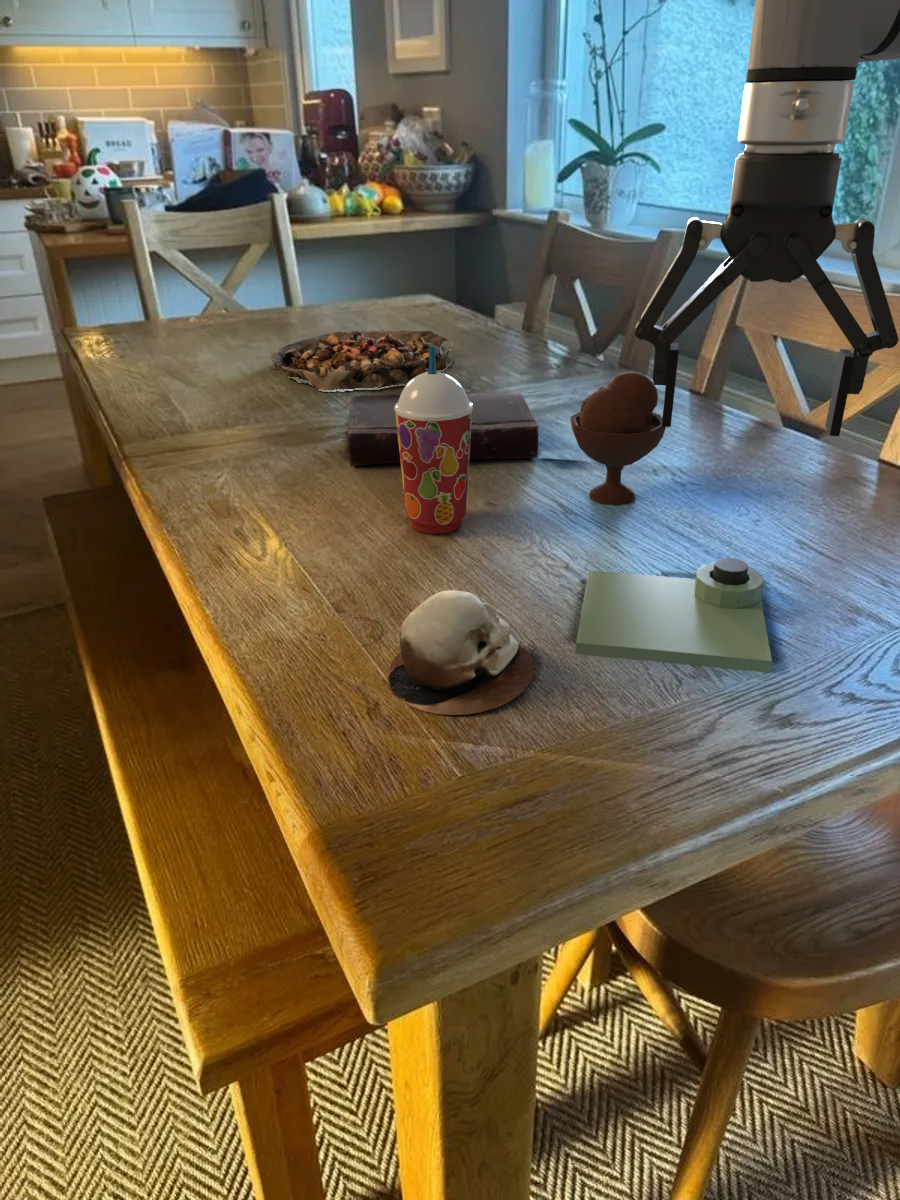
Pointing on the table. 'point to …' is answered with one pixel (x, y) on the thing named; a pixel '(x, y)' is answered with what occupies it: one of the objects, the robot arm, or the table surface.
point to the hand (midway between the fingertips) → (747, 427)
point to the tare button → (730, 571)
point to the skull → (458, 657)
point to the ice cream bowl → (618, 430)
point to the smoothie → (434, 449)
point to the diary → (494, 428)
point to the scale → (675, 620)
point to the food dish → (361, 358)
